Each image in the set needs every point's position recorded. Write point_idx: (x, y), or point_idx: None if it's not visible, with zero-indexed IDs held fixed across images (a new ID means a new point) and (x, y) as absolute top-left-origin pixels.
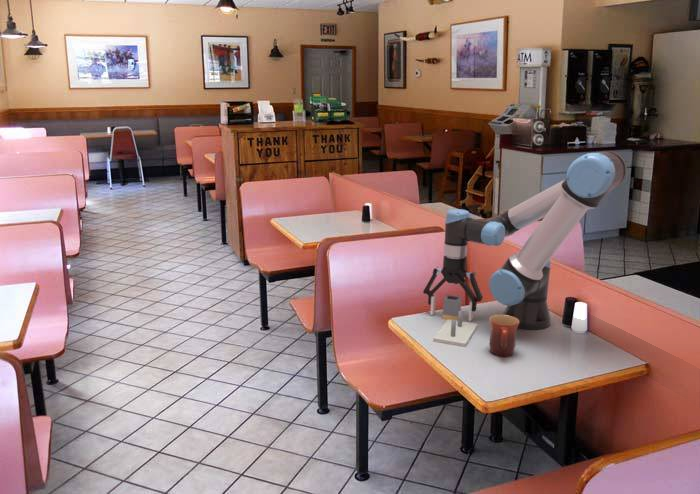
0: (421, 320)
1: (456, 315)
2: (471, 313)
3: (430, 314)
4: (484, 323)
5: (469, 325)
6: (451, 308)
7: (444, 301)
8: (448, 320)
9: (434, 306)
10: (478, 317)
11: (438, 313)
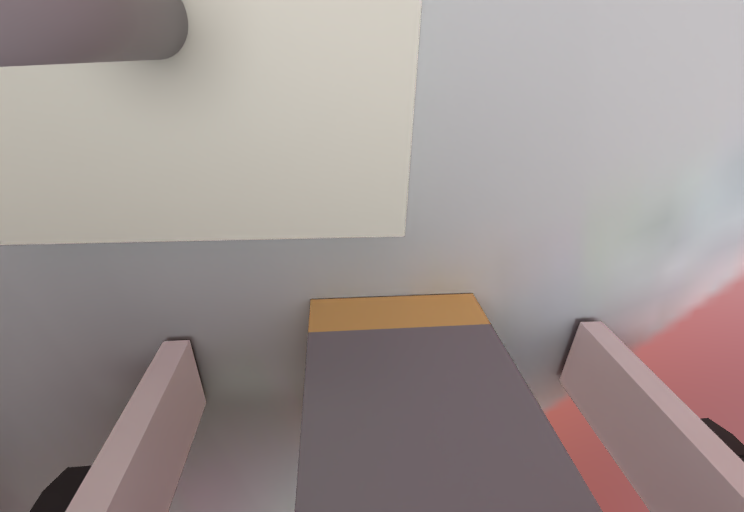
0: (712, 138)
1: (318, 341)
2: (127, 427)
3: (602, 323)
4: (9, 356)
5: (23, 128)
6: (403, 407)
7: (573, 500)
8: (389, 198)
9: (606, 429)
10: None
11: None
